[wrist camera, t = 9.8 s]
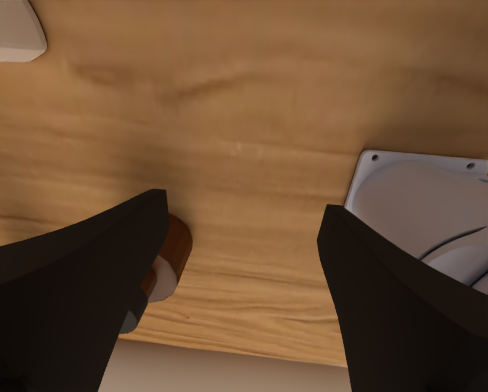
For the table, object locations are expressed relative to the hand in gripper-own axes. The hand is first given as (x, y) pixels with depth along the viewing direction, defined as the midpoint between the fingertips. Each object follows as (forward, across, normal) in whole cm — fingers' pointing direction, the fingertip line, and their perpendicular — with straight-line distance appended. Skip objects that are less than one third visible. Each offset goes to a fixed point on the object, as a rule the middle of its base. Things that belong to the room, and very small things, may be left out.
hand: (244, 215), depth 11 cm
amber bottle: (+10, +9, +10) cm, 16 cm away
